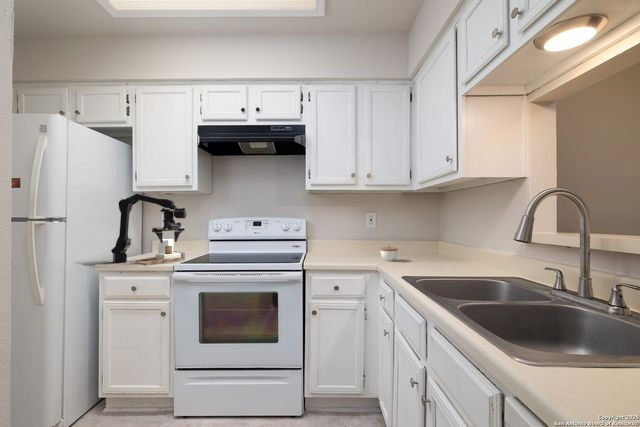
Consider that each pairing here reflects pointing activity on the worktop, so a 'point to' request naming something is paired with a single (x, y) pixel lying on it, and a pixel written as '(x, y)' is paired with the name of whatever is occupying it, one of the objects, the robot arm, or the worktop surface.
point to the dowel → (168, 250)
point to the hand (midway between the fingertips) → (168, 242)
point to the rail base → (155, 261)
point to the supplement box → (162, 245)
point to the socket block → (167, 256)
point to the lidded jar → (389, 253)
